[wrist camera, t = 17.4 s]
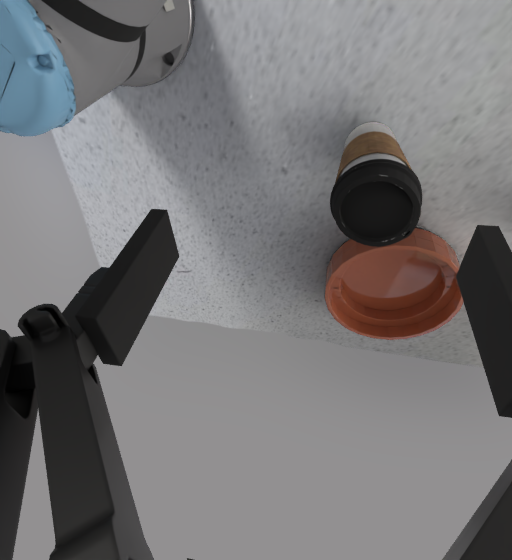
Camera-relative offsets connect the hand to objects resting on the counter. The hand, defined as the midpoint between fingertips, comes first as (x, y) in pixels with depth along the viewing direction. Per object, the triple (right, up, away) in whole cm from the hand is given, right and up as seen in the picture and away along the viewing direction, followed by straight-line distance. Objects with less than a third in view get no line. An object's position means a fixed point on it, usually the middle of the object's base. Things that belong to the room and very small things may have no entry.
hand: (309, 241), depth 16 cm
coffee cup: (+11, +15, +28) cm, 34 cm away
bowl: (+18, -1, +41) cm, 45 cm away
